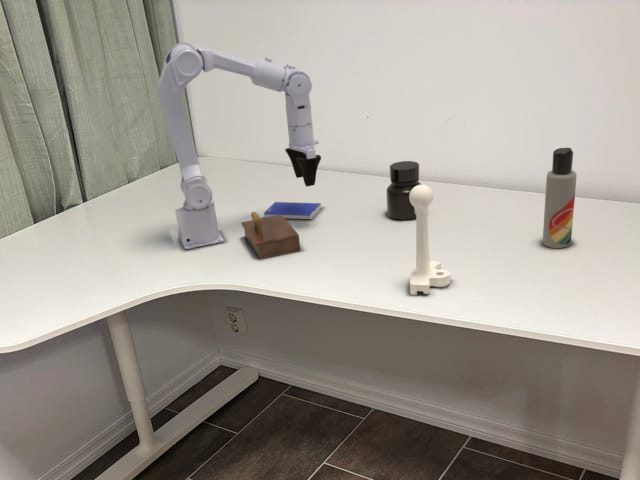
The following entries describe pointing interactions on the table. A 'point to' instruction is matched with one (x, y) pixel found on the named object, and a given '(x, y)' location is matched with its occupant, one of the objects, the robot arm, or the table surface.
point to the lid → (268, 229)
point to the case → (275, 247)
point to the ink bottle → (402, 189)
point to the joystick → (424, 247)
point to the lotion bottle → (559, 200)
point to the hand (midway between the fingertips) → (305, 181)
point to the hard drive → (293, 210)
